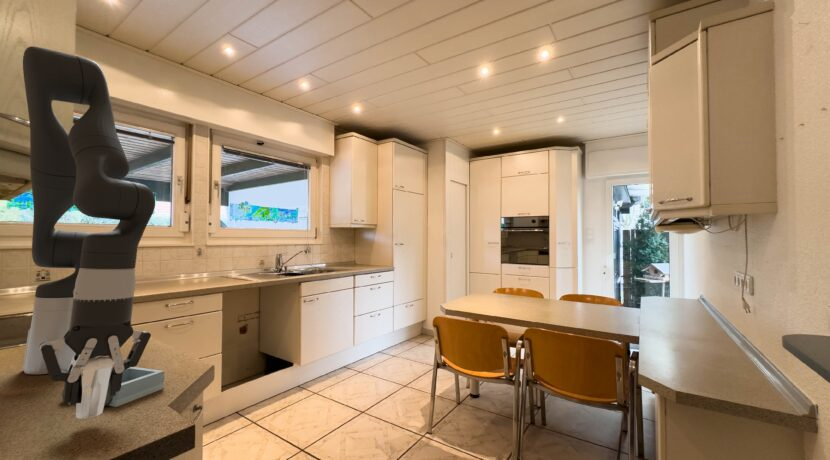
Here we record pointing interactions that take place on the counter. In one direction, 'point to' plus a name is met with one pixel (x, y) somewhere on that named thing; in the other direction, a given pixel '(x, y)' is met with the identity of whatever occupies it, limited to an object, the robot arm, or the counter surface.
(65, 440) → the counter surface
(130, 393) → the chassis
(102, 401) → the milkshake
